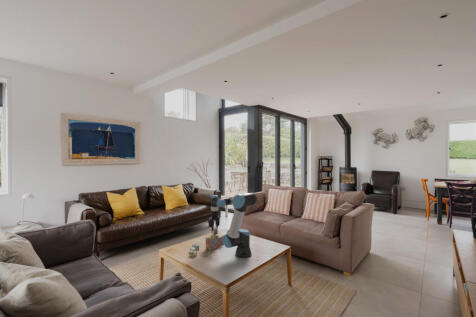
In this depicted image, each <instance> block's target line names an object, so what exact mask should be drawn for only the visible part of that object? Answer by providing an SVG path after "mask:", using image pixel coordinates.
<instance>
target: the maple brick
mask: <svg viewBox="0 0 476 317" xmlns="http://www.w3.org/2000/svg"><path fill="white" fill-rule="evenodd" d="M189 257H193V258H196V257H198V250H196V251H190V250H189Z"/></svg>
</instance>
